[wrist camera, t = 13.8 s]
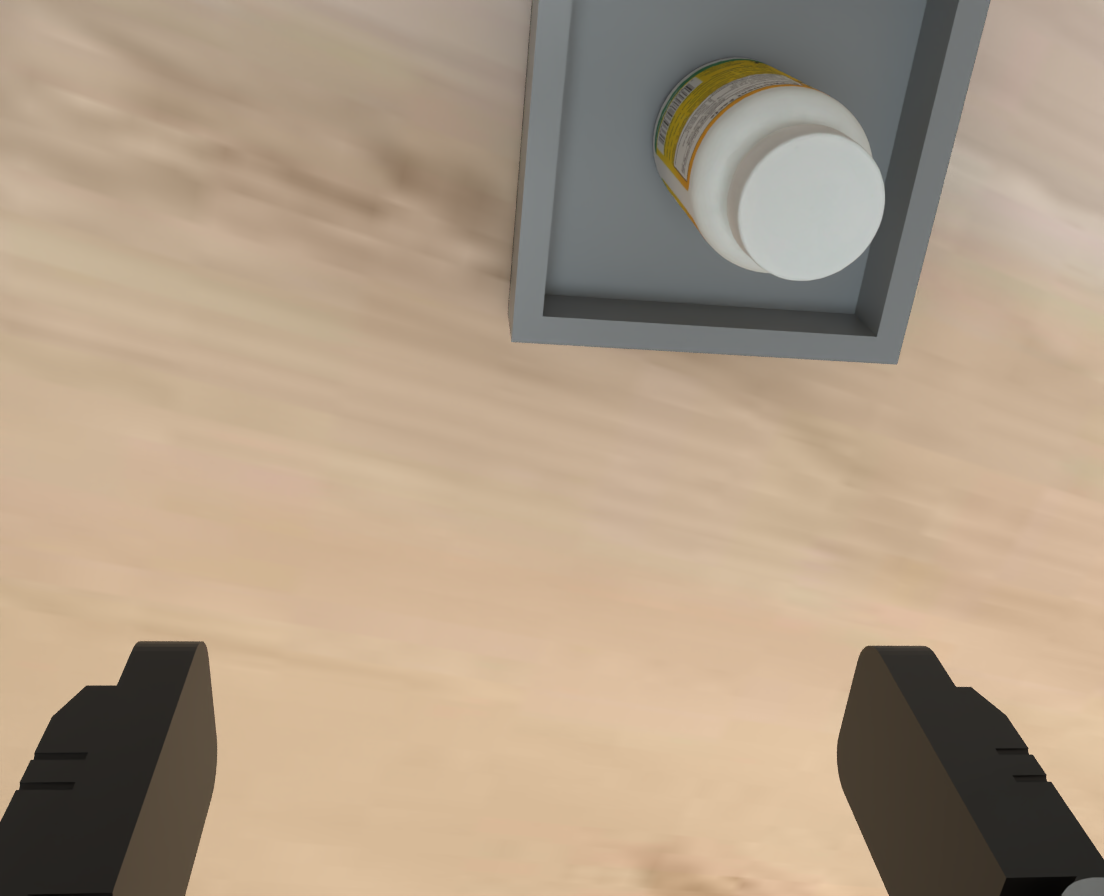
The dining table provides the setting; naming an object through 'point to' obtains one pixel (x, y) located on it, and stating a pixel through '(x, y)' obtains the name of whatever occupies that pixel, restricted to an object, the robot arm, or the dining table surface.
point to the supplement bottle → (769, 169)
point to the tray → (659, 221)
